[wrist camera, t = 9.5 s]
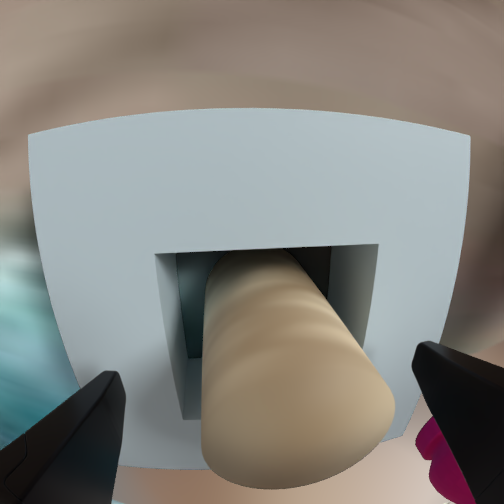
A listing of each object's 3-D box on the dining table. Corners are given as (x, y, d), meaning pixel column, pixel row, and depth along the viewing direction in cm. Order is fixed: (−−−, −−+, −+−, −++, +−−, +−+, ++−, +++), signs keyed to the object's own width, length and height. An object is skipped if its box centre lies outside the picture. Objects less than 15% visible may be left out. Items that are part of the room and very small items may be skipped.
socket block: (409, 135, 12) (470, 135, 8) (373, 389, 16) (402, 435, 12) (80, 137, 10) (28, 134, 7) (131, 410, 15) (118, 465, 11)
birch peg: (309, 241, 13) (417, 351, 5) (303, 332, 14) (369, 470, 7) (201, 245, 12) (187, 381, 5) (209, 339, 14) (212, 495, 6)
